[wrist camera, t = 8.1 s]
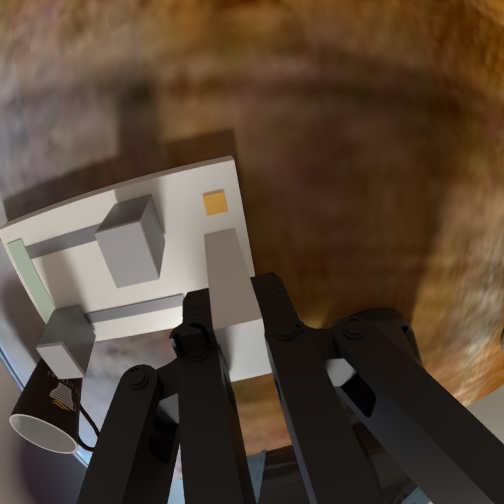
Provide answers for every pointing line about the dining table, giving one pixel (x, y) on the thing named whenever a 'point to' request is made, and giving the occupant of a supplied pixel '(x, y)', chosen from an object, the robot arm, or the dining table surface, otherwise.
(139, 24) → the dining table surface
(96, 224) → the panel
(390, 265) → the dining table surface
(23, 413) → the coffee mug
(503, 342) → the canister
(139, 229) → the block
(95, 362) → the dining table surface
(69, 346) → the block
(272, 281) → the robot arm
